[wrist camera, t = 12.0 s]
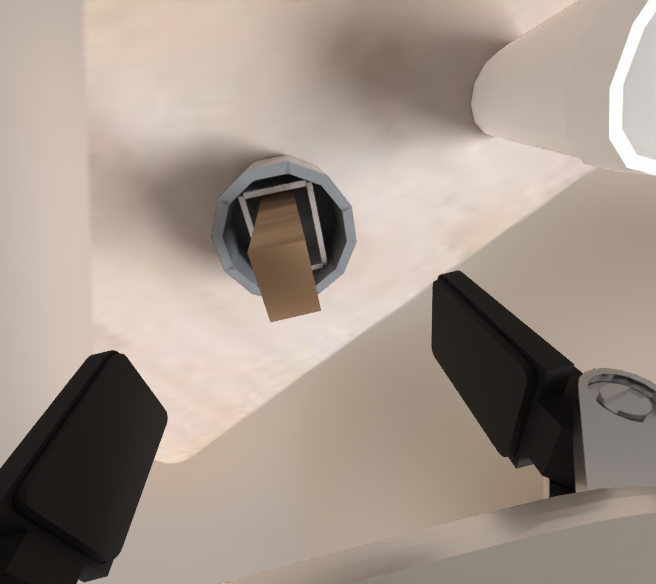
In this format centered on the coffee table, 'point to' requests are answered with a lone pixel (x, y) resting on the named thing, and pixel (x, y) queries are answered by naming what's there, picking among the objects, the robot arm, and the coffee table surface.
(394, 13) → the coffee table surface
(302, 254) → the brown wooden bar
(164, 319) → the coffee table surface
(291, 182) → the grey hollow box
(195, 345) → the coffee table surface
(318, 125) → the coffee table surface
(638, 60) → the foam cup
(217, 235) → the faceted hollow tube
